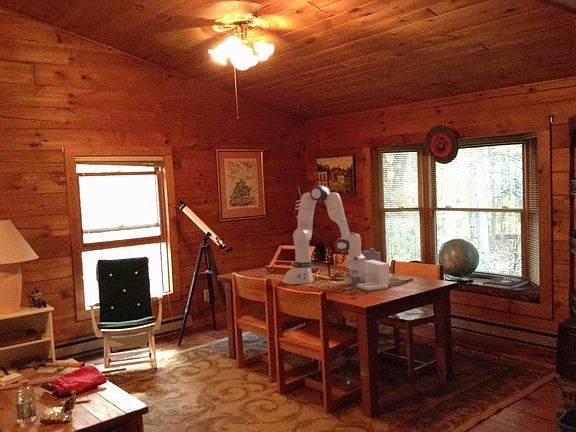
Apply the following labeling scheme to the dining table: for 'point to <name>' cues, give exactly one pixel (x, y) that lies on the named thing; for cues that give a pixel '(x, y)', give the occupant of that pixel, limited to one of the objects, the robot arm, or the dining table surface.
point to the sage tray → (372, 286)
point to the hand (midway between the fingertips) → (355, 276)
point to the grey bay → (375, 272)
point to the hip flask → (372, 255)
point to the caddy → (353, 280)
